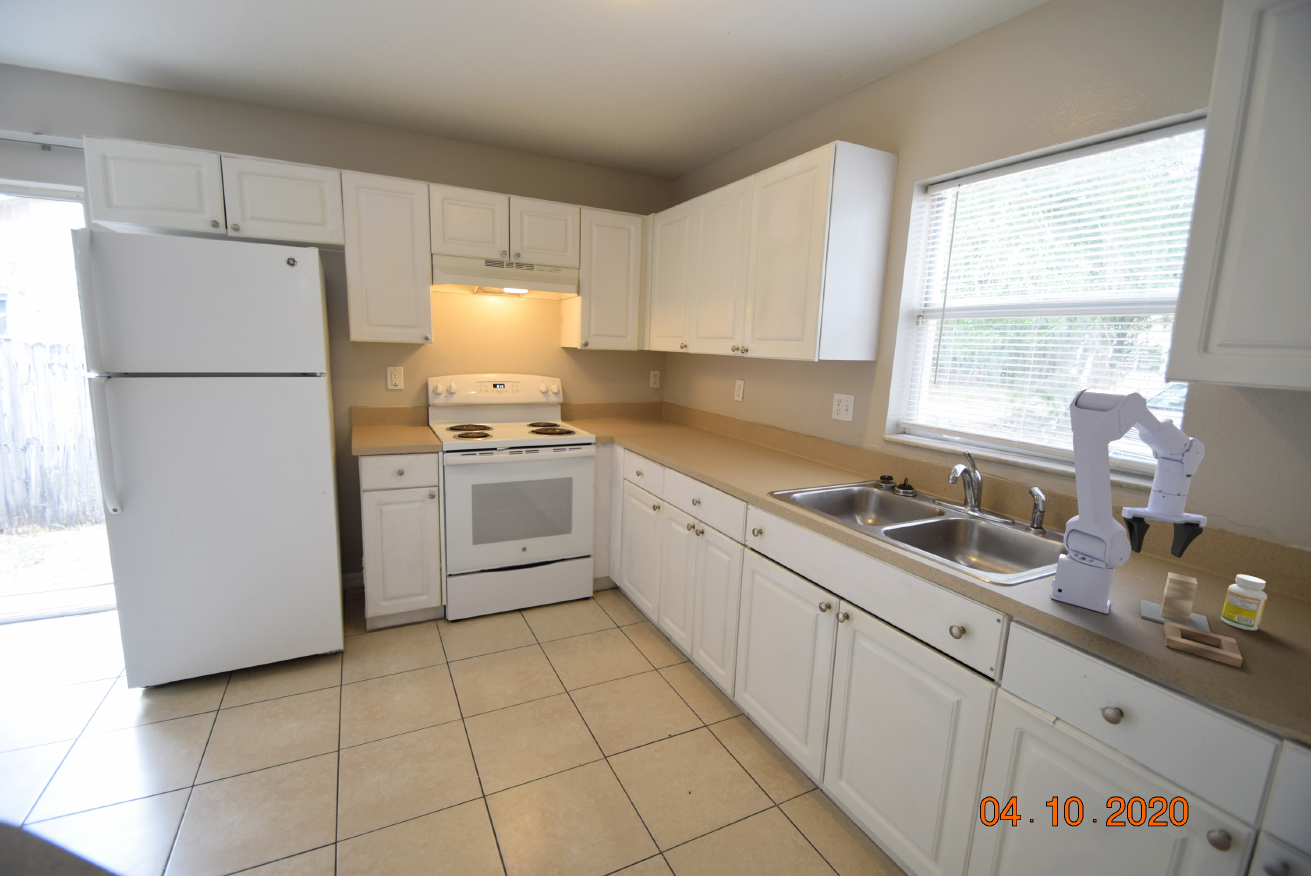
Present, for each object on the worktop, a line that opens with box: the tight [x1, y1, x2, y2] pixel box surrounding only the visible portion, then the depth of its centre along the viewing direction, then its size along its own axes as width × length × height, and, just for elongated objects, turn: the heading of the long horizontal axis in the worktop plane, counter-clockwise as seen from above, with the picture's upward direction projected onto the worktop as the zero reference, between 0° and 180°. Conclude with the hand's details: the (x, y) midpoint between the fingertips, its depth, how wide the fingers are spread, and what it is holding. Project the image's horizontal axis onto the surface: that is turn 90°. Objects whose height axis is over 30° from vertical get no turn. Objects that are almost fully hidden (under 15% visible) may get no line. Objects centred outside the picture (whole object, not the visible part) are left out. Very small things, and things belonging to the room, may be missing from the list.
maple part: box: [1160, 571, 1199, 623], centre depth 112 cm, size 4×4×8 cm
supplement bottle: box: [1220, 573, 1268, 631], centre depth 111 cm, size 5×5×10 cm
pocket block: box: [1162, 620, 1243, 668], centre depth 102 cm, size 10×10×2 cm
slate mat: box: [1139, 599, 1211, 632], centre depth 113 cm, size 10×10×1 cm
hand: (1155, 553), depth 122 cm, fingers open, 7 cm apart
